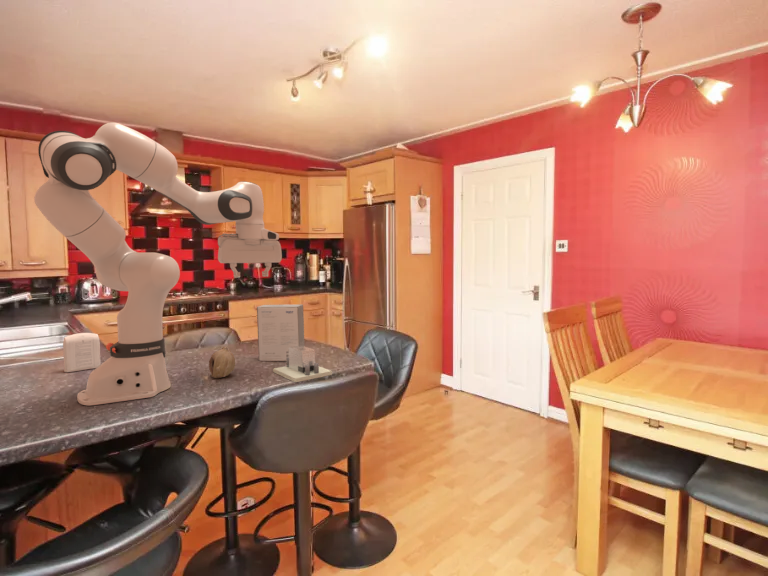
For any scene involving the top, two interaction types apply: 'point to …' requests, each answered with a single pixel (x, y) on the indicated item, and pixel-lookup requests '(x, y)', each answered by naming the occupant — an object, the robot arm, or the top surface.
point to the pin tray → (298, 376)
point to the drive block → (301, 358)
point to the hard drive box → (279, 330)
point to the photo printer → (81, 352)
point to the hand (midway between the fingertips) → (251, 277)
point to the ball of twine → (221, 363)
